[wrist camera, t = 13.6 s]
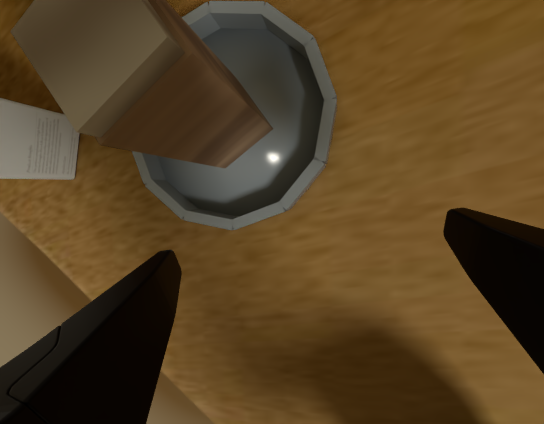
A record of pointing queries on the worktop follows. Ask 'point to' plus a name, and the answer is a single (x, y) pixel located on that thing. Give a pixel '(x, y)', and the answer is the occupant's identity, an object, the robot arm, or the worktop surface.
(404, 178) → the worktop surface
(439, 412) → the worktop surface
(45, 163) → the skincare box
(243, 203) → the slate dish
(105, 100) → the walnut block
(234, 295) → the worktop surface
